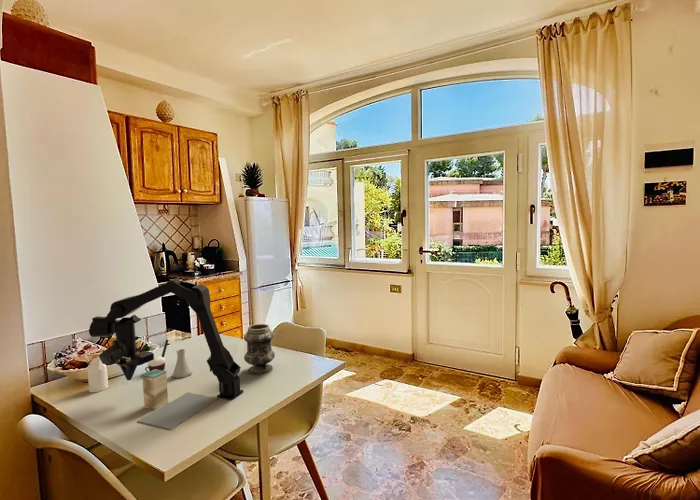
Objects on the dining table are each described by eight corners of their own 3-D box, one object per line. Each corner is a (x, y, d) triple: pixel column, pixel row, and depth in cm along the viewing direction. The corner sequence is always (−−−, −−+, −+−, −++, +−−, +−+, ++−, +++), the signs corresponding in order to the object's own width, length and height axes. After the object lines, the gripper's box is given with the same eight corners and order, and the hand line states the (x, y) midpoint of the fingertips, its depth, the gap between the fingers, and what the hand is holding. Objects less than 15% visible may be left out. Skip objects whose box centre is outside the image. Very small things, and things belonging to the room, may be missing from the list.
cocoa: (146, 377, 149) (142, 348, 147) (145, 371, 154) (142, 343, 152) (172, 371, 153) (169, 343, 151) (171, 365, 159) (168, 338, 157)
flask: (185, 379, 146) (183, 353, 145) (168, 378, 147) (166, 353, 146) (196, 371, 153) (194, 347, 152) (180, 370, 154) (178, 346, 153)
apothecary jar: (279, 364, 158) (277, 322, 157) (270, 376, 146) (268, 330, 145) (251, 363, 159) (249, 322, 158) (240, 375, 147) (237, 330, 146)
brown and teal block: (168, 402, 127) (166, 371, 126) (155, 409, 122) (153, 377, 121) (157, 400, 129) (155, 369, 128) (144, 407, 124) (142, 375, 123)
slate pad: (218, 399, 128) (217, 398, 128) (170, 430, 110) (170, 429, 110) (187, 393, 133) (187, 392, 133) (137, 421, 115) (137, 421, 115)
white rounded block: (83, 361, 134) (89, 355, 139) (86, 393, 135) (92, 387, 140) (103, 358, 136) (107, 353, 141) (105, 390, 137) (110, 384, 142)
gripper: (83, 340, 124) (87, 386, 125) (123, 346, 117) (127, 394, 118) (115, 330, 134) (118, 373, 136) (153, 335, 127) (156, 379, 129)
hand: (129, 379), depth 129 cm, fingers closed
